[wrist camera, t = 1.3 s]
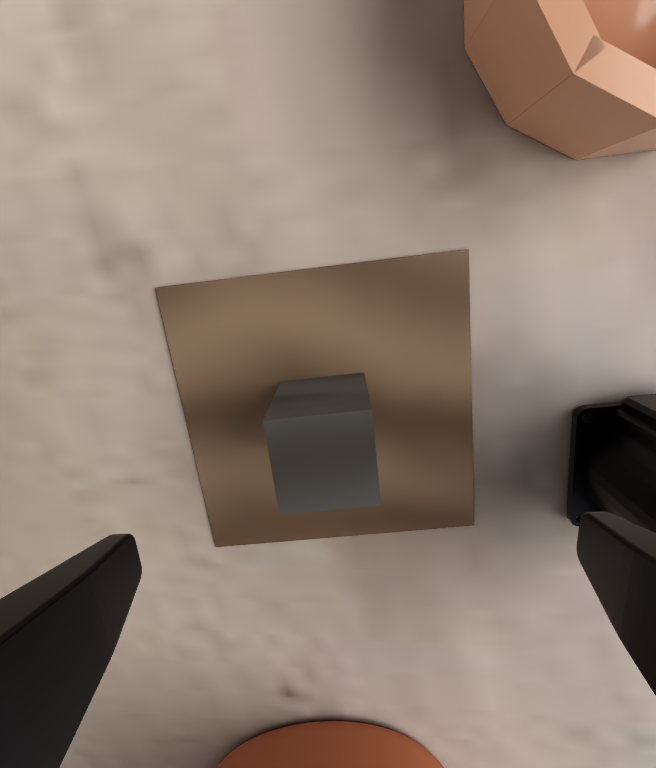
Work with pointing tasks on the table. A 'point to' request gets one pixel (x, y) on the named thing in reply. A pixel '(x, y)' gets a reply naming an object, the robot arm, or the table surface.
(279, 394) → the lid
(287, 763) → the potted cactus
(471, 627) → the table surface
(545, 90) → the bowl
